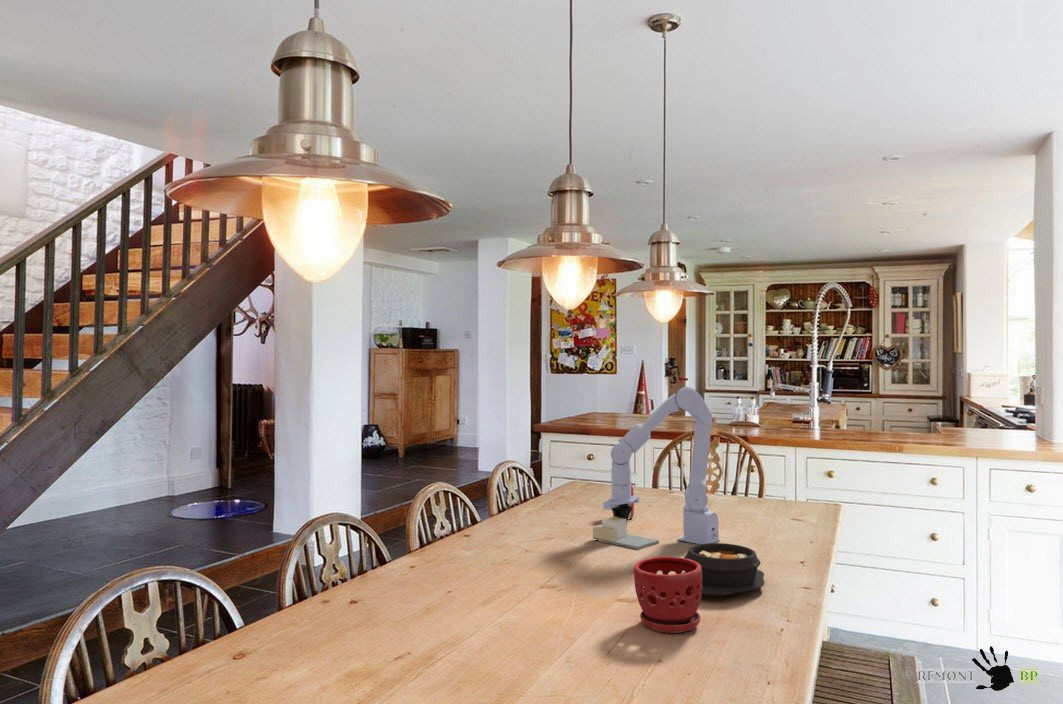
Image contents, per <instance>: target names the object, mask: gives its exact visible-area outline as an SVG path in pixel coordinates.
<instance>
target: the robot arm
mask: <svg viewBox="0 0 1063 704" xmlns="http://www.w3.org/2000/svg"><path fill="white" fill-rule="evenodd" d="M680 408H681V409H682V410H683V411H686V412H687V413H688V414H689V415H690V417H692V418H693V420H695V425H694V426H695V427H694V435H693V444H692V445H693V446H692V453H691V454H692V455H691V463H690V474H689V478H688V479H689V480H688V484H687V487H686V488H685V490H684V502H685V505H684V506H683V511H682V512H683V517H682V519H683V536H680V537H677V541H682V542H687V543H691V544H695V545H699V544H707V543H718V542H719V541H721V540H720V537H719V516H718V515H717V513H716V512H713V511H711V510H710V507H709V506H708V502H709V499H708V496H707V490H706V488H707V486H706V485H707V472H708V462H709V453H710V452H709V451H710V443H711V436H712V435H711V434H712V424H713V423H712V422H713V414H712V413H711V410H710V409H709V408H708V406H707V403H706V402H705V401H704V397H702V395H701V394H700V393H698V392H697V391H696V390H695V389H694V388H692V387H691V386H683V387H681V388H680V389H679V390H677V392H676V393H673V394H672V395H671V396H669V397H667V399H665V400H664V401H663V403H661V404H660V405H659V406H658V408H656V410H655V411H654V412H653V413H652V414H651V415H650V416H649V417H648V418H647V419H646V420H645V421H644V422H643V423H636V424H635V425H631V426H629V428H628V429H629V431H628V432H626V434H625V435H624V436H623V437H620V438H619V439H618V440H617V442H618V443H615V444H614V445H613V446H612V448H611V450H610V458H611V469H610V470H611V476H610V477H611V480H610V481H611V497H609V498H608V500H606V501H604V502H603V503H602V505H603V506H602V507H603V510H611V511H612V514H613V513H614V515H615V516H616V517H618V518H624V519H626V526H628V520H629V519H628V517H629V514H630V512H631V511H632V506H628V504H632V503H634V504H639V503H640V496H638V495H634V496H631V482H632V471H631V470H632V469H631V457H632V454H635V453H637V452H638V451H639V450H640V449H641V448H642V447H644V445H645V444H646V443H647V442H648V441H649V440H650V439H651V432H652V431H653V430H654V429H655V428H656V427H657V426H658V425H659V424H661V422H662V421H663V420H664V419H665V418H667V416H668V415H669V414H673V413H676V412H680Z"/></svg>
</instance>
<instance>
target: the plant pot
mask: <svg viewBox="0 0 1063 704" xmlns="http://www.w3.org/2000/svg"><path fill="white" fill-rule="evenodd" d="M659 571H660V572H662V573H658V572H659ZM670 572H674V573H675V574H669V573H670ZM684 572H686V573H684ZM633 580H634V589H635V595H636V598H637V602H638V603H639V606H640V608H641V612H640V614H639V615H640V616H639V617H640V620H641V622H642V624H643V625H645V626H646V627H647V628H648V629H651V630H653V631H656V632H661V633H669V634H672V633H674V634H679V633H684V632H689V631H692V630H693V629H695V628H696V627H697V626H698V625H699V623H700V621H701V615H700V613H699V612H698V609H699V606H700V604H701V600H702V595H703V594H702V569H701V565H700V564H699V563H697V562H696V561H693V560H690V559H686V558H684V557H679V556H655V557H650V558H645V559H641V560H639V561H637V562H636V563H635V564H634V565H633ZM692 589H693V590H692Z"/></svg>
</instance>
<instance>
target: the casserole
mask: <svg viewBox="0 0 1063 704" xmlns="http://www.w3.org/2000/svg"><path fill="white" fill-rule="evenodd" d="M683 558H686V559H690V560H693V561H696V562H697V563H699V564H700V565H701V569H702V594H701V595H705V596H706V595H707V596H716V597H717V596H718V597H722V596H724V597H725V596H728V595H737V594H742V593H746V592H751V591H755V590H757V589H760V588H762V587H763V586H764V585H765V580H764V577H765V573H764V571H762V570H760V569H758V568H759V566H760V565H761V560H760V559H759V558H758V556H757V553H756V551H755V550H753V549H752V548H749V547H747V546H743V545H739V544H738V545H737V544H732V543H721V542H720V543H719V542H714V543H707V544H695V545H692V546H690V547H689V548H688V550H687V553H686V554H685V555H684V557H683ZM683 573H686V572H685V571H683ZM692 590H693V589H692Z"/></svg>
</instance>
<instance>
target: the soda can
mask: <svg viewBox="0 0 1063 704" xmlns="http://www.w3.org/2000/svg"><path fill="white" fill-rule="evenodd" d="M631 496H635V490H634V485H633V484H632V481H631ZM628 506H632V511H631V512H630V514H629V517H628V518H631V519H632V518H633V517H634V515H635V503H632V504H628ZM614 516H615V515H614V513H613V512H612V517H614Z"/></svg>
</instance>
